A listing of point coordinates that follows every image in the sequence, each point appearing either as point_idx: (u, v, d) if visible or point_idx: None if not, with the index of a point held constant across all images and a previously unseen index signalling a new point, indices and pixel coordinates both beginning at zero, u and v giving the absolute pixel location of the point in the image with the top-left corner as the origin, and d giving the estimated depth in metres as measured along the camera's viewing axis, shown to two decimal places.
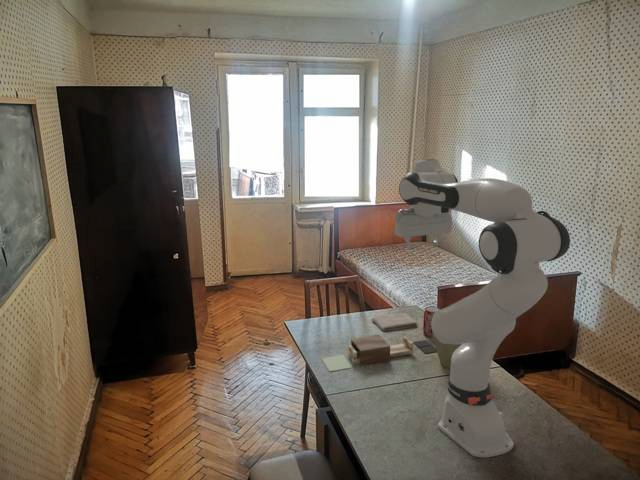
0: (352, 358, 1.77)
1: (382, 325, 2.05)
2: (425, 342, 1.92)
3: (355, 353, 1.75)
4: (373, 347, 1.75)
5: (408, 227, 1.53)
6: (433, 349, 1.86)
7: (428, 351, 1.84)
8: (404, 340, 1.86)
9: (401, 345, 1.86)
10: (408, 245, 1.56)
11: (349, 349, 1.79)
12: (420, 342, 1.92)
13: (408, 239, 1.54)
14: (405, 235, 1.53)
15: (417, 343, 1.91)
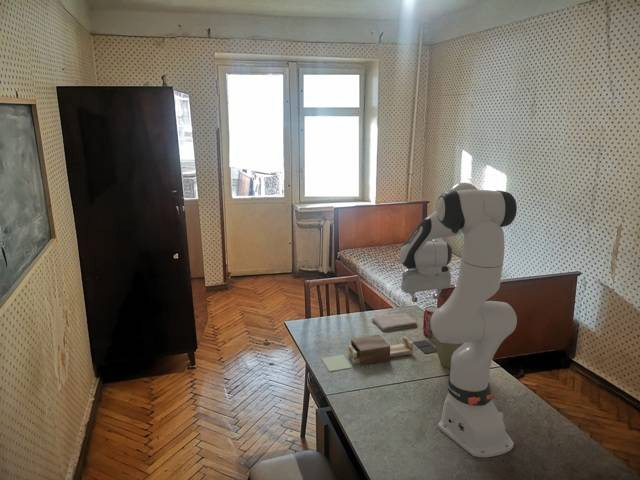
0: (352, 358, 1.77)
1: (382, 325, 2.05)
2: (425, 342, 1.92)
3: (355, 353, 1.75)
4: (373, 347, 1.75)
5: (413, 284, 1.76)
6: (433, 349, 1.86)
7: (428, 351, 1.84)
8: (404, 340, 1.86)
9: (401, 345, 1.86)
10: (412, 299, 1.80)
11: (349, 349, 1.79)
12: (420, 342, 1.92)
13: (413, 294, 1.78)
14: (410, 291, 1.77)
15: (417, 343, 1.91)
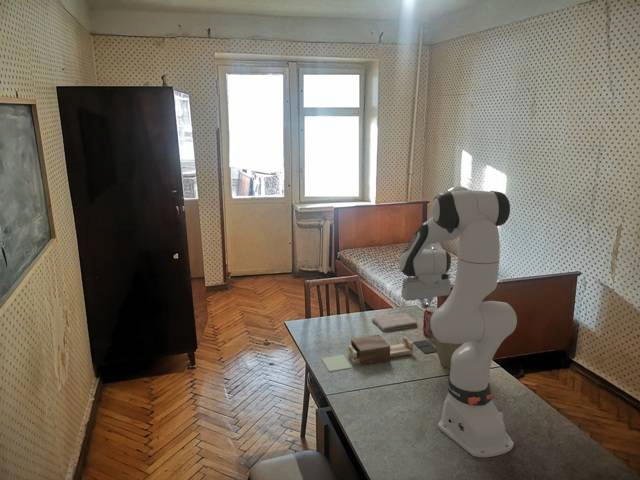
0: (352, 358, 1.77)
1: (382, 325, 2.04)
2: (425, 342, 1.92)
3: (355, 353, 1.75)
4: (373, 347, 1.75)
5: (413, 292, 1.78)
6: (433, 349, 1.86)
7: (428, 351, 1.84)
8: (404, 340, 1.86)
9: (401, 345, 1.86)
10: (422, 305, 1.82)
11: (349, 349, 1.79)
12: (420, 342, 1.92)
13: (422, 300, 1.81)
14: (410, 299, 1.78)
15: (417, 343, 1.91)
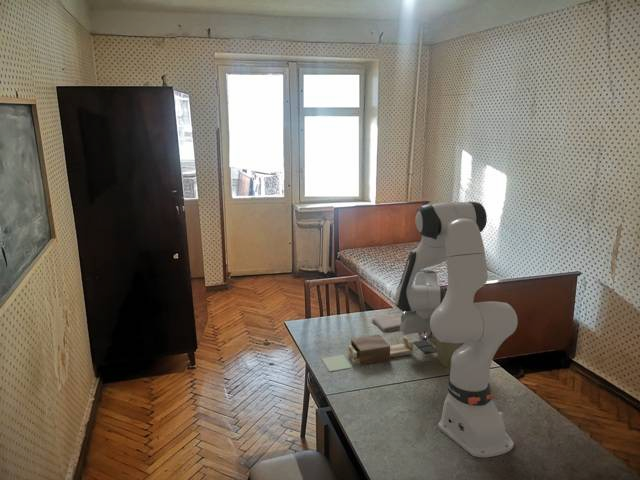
0: (352, 358, 1.77)
1: (383, 325, 2.04)
2: (425, 342, 1.92)
3: (355, 353, 1.75)
4: (373, 347, 1.75)
5: (411, 326, 1.81)
6: (433, 349, 1.86)
7: (428, 351, 1.84)
8: (404, 340, 1.86)
9: (401, 345, 1.86)
10: (420, 338, 1.86)
11: (349, 349, 1.79)
12: (420, 342, 1.92)
13: (420, 334, 1.84)
14: (409, 333, 1.81)
15: (417, 343, 1.91)
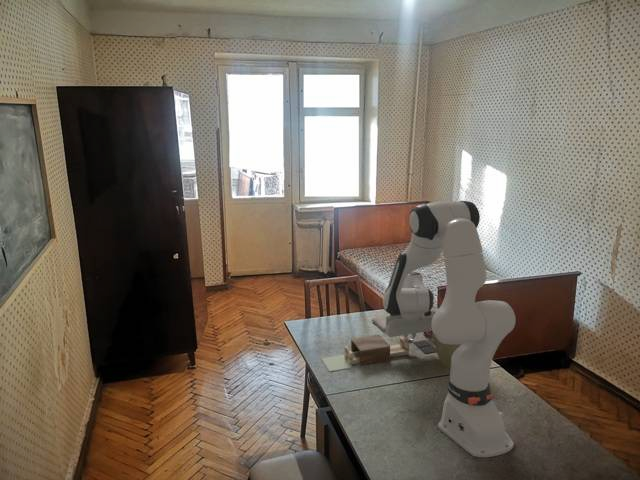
0: (348, 359, 1.76)
1: (383, 326, 2.04)
2: (425, 342, 1.92)
3: (351, 354, 1.74)
4: (373, 347, 1.75)
5: (396, 328, 1.79)
6: (433, 349, 1.86)
7: (428, 351, 1.84)
8: (400, 341, 1.86)
9: (397, 346, 1.86)
10: (406, 340, 1.84)
11: (345, 350, 1.79)
12: (420, 342, 1.92)
13: (406, 336, 1.82)
14: (394, 335, 1.80)
15: (417, 343, 1.91)
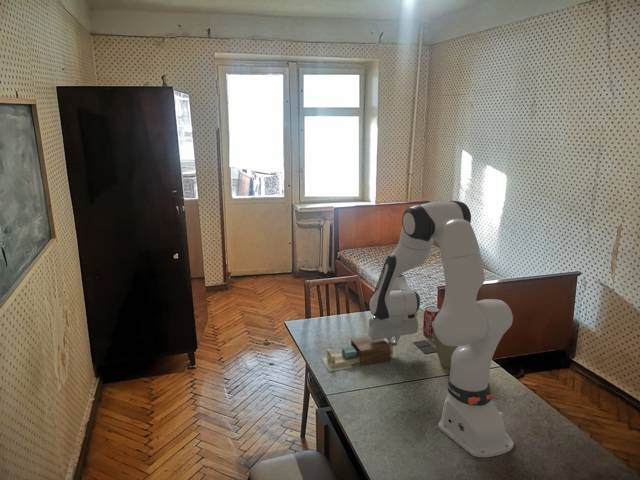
0: (330, 362, 1.74)
1: None
2: (425, 342, 1.92)
3: (333, 357, 1.72)
4: (373, 347, 1.75)
5: (379, 331, 1.77)
6: (433, 349, 1.86)
7: (428, 351, 1.84)
8: None
9: None
10: None
11: (328, 353, 1.77)
12: (420, 342, 1.92)
13: (389, 339, 1.80)
14: (377, 338, 1.78)
15: (417, 343, 1.91)
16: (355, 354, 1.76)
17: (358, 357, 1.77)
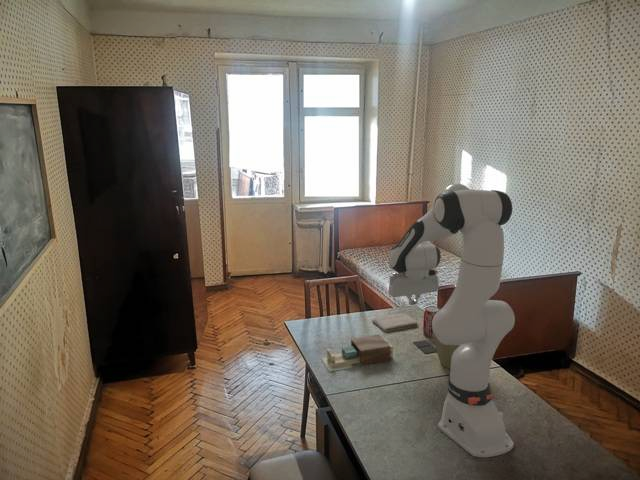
0: (330, 362, 1.74)
1: (384, 326, 2.04)
2: (425, 342, 1.92)
3: (333, 357, 1.72)
4: (373, 347, 1.75)
5: (400, 288, 1.75)
6: (433, 349, 1.86)
7: (428, 351, 1.84)
8: None
9: None
10: (409, 302, 1.80)
11: (328, 353, 1.77)
12: (420, 342, 1.92)
13: (409, 297, 1.78)
14: (397, 295, 1.76)
15: (417, 343, 1.91)
16: (355, 354, 1.76)
17: (358, 357, 1.77)
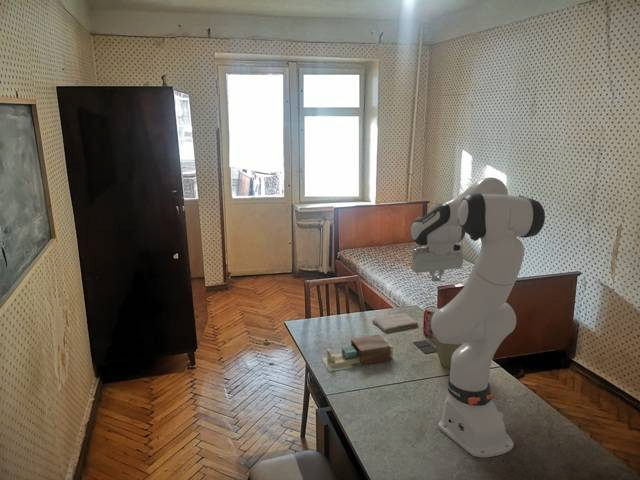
0: (330, 362, 1.74)
1: (384, 326, 2.04)
2: (425, 342, 1.92)
3: (333, 357, 1.72)
4: (373, 347, 1.75)
5: (423, 264, 1.69)
6: (433, 349, 1.86)
7: (428, 351, 1.84)
8: None
9: None
10: (433, 278, 1.74)
11: (328, 353, 1.77)
12: (420, 342, 1.92)
13: (433, 273, 1.72)
14: (421, 271, 1.69)
15: (417, 343, 1.91)
16: (355, 354, 1.76)
17: (358, 357, 1.77)
